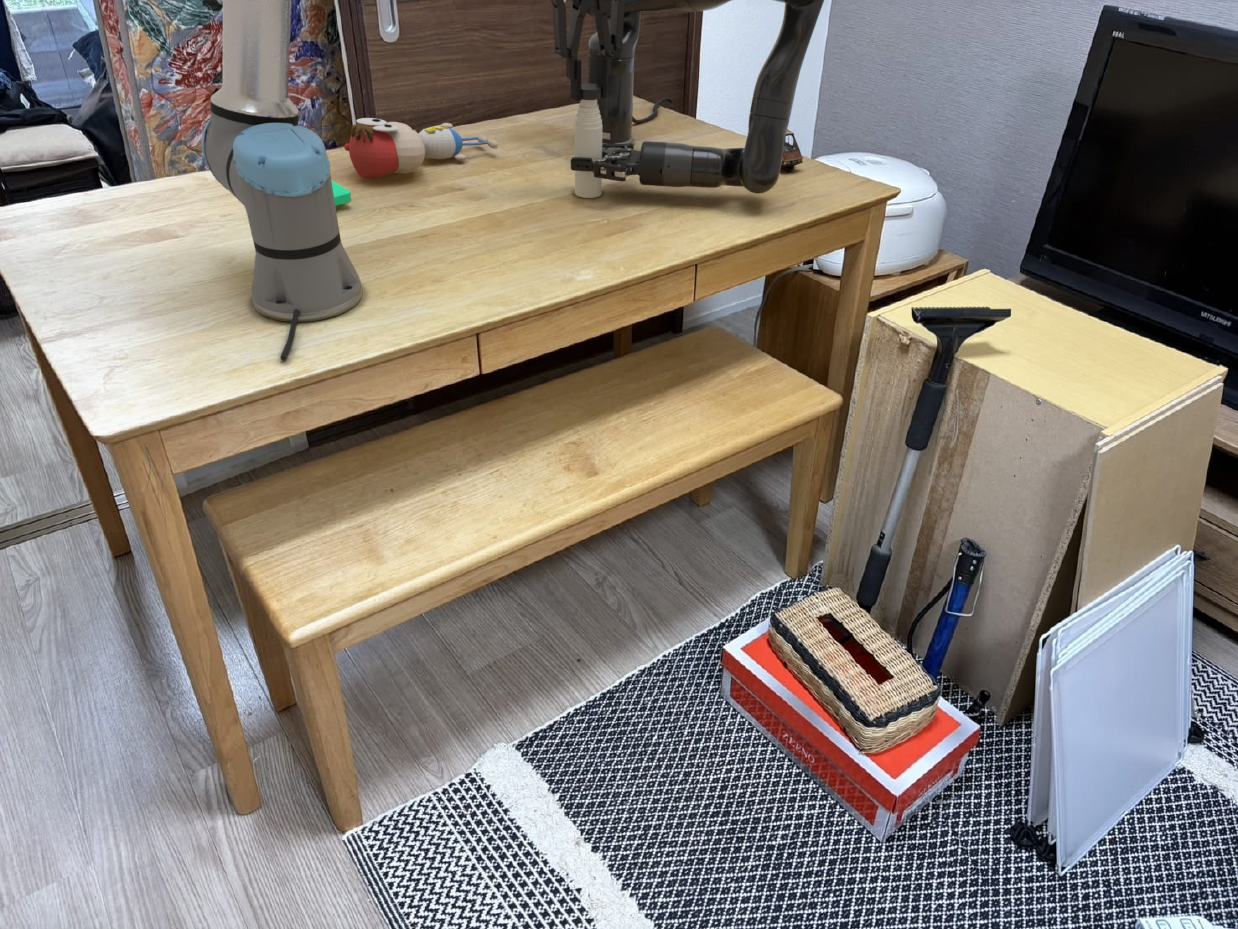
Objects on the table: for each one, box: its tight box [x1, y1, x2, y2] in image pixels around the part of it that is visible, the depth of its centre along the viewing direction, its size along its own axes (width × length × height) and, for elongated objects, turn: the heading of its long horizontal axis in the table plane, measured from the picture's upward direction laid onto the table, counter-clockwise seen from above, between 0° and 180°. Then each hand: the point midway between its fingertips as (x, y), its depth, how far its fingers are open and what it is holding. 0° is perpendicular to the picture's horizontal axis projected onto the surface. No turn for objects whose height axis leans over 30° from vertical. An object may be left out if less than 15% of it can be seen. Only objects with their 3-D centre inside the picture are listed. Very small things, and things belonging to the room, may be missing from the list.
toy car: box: [781, 128, 804, 172], centre depth 184 cm, size 6×12×7 cm, turn 39°
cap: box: [581, 82, 601, 100], centre depth 160 cm, size 4×4×2 cm
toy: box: [343, 117, 499, 180], centre depth 179 cm, size 18×10×30 cm
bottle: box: [574, 99, 603, 199], centre depth 166 cm, size 5×5×18 cm
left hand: (588, 96), depth 161 cm, fingers closed on cap, 4 cm apart
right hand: (574, 158), depth 168 cm, fingers closed on bottle, 5 cm apart
